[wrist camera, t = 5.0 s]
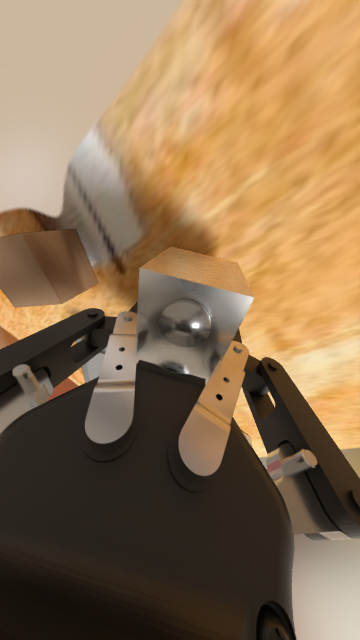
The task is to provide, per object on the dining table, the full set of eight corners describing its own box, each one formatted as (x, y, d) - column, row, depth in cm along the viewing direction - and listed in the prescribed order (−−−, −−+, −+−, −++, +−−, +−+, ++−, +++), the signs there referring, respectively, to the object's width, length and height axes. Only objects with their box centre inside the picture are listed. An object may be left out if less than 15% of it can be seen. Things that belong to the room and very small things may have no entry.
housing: (171, 246, 12) (133, 271, 6) (237, 262, 12) (257, 304, 6) (157, 336, 17) (129, 394, 11) (203, 349, 17) (197, 414, 11)
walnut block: (33, 237, 15) (-33, 244, 11) (76, 228, 14) (20, 232, 10) (60, 287, 18) (14, 307, 14) (99, 282, 17) (62, 303, 13)
